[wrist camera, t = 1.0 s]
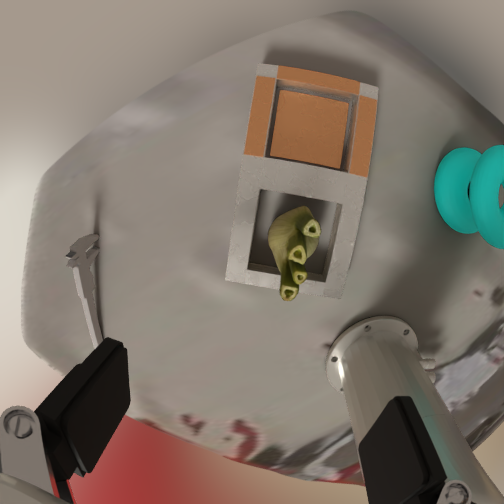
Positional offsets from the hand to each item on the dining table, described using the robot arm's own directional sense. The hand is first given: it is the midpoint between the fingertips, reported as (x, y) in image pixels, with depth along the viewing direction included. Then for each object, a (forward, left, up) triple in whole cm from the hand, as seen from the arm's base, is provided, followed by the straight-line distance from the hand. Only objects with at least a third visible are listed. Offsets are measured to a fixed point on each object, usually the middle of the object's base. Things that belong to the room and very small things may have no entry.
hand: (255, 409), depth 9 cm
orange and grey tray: (-2, -7, -23) cm, 24 cm away
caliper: (+22, +12, -23) cm, 34 cm away
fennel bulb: (-2, -2, -23) cm, 23 cm away
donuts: (-21, -11, -23) cm, 33 cm away
